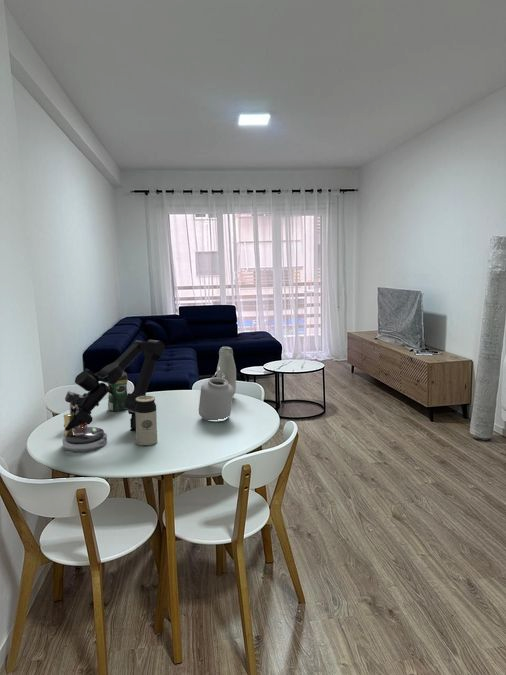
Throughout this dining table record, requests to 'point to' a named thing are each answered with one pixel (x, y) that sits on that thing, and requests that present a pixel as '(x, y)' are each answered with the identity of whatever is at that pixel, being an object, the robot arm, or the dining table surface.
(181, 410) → the dining table surface
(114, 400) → the coffee jar
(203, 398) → the jar
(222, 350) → the grey bottle
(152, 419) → the travel mug
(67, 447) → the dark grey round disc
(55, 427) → the dining table surface
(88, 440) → the dial
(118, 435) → the dining table surface
